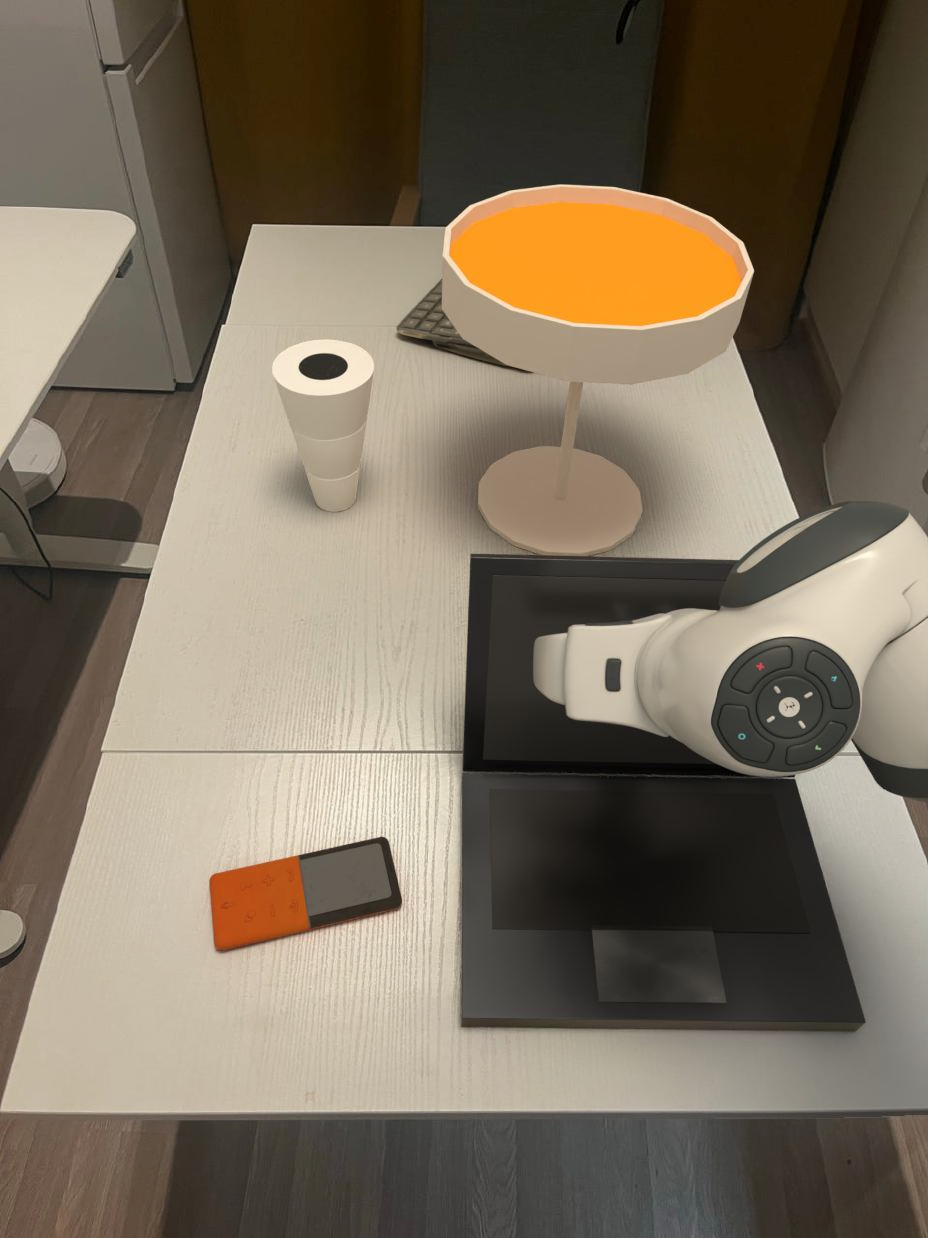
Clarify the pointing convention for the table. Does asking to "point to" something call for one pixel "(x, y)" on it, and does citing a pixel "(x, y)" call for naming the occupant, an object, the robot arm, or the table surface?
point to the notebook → (646, 906)
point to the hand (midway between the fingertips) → (647, 657)
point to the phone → (303, 892)
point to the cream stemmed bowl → (586, 332)
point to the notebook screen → (549, 604)
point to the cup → (327, 413)
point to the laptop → (439, 327)
